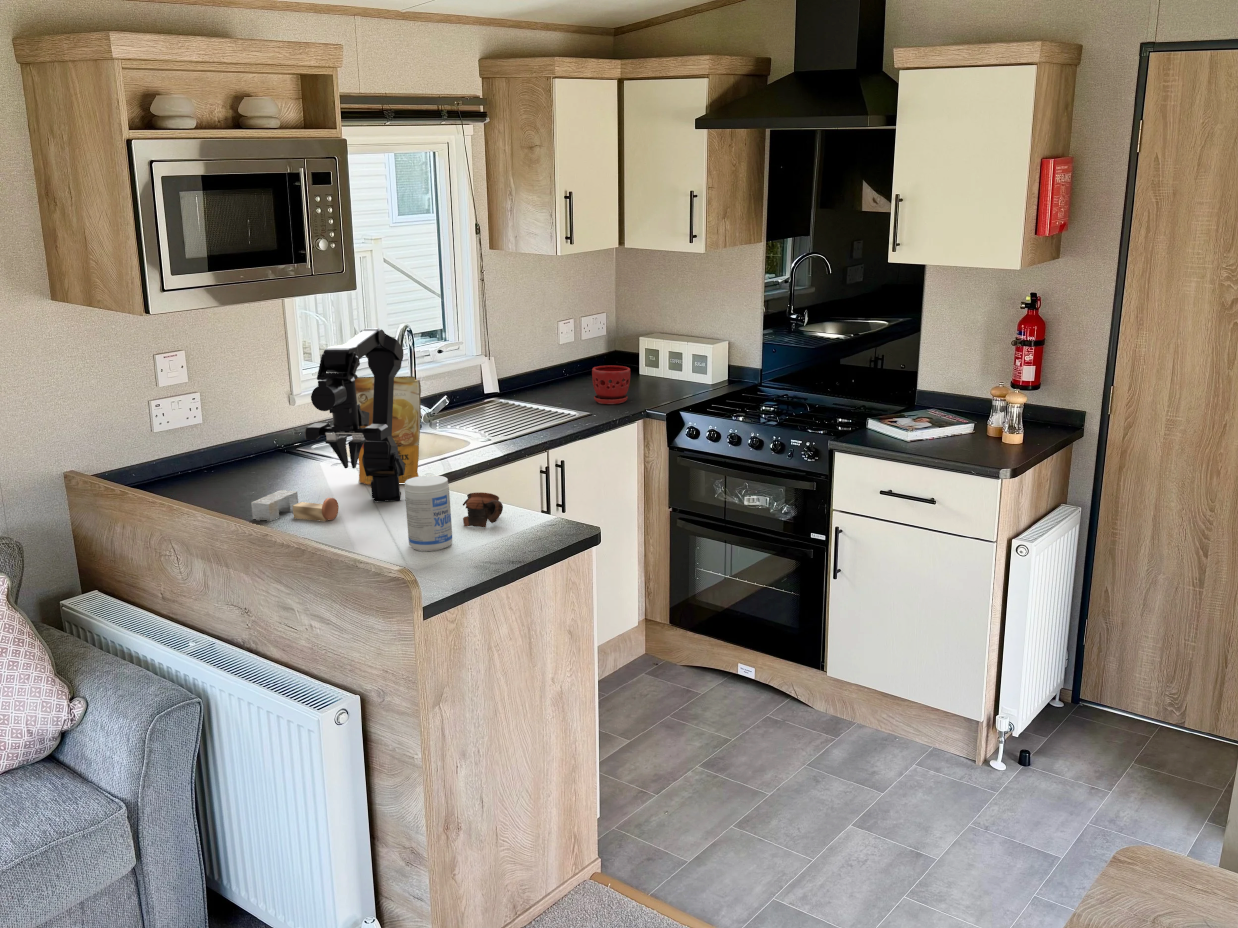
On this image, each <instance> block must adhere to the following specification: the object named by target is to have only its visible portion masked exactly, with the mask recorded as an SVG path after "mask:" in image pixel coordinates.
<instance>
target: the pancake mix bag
mask: <svg viewBox="0 0 1238 928" xmlns="http://www.w3.org/2000/svg"><path fill="white" fill-rule="evenodd" d="M355 386H356V397H357V404H360V409H361V411H366V412H369V425H371V424H372V421H373V395H374V376H359V377H358V378H357V379H355ZM421 394H422V386H421V380H420V379H416V376H410V375H408V376H395V377H394V390H393V416H392V437H393V439H394V441H395V443H396V445H397V446H398V454H399V456H400V457H401V459H402V460H403V462H404V463H405V473H404V475H402V476H399V483H405V481H406V480H408V479H410V478H414V477H419V476H420V475H419V473H418V471H419V459H420V441H421V440H420V438H421V437H420V436H421V435H420V434H421V419H422V411H421V400H422V399H421ZM366 427H368V426H364V425H363V426H360V427H359V428H366ZM364 443H365V442H364ZM364 443H363V445H362V447H361V450H360V453H359V457H358V469H359V470H358V481H357V482H358V483H360V484H364V485H368V486H371V480H373V476H366V473H365V470H364V466H363V462H362V457H363V453H364Z"/></svg>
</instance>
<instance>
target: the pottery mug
mask: <svg viewBox="0 0 1238 928" xmlns="http://www.w3.org/2000/svg"><path fill="white" fill-rule="evenodd" d="M466 497H467V499H465V501H464V502H463V503H462V506H463V507H464V506H465V509H467V515H466V516H464V517H463V518H462V521H463V527H476V528H487V523H488V521H489V522H490V523H491V524H494V523H496V522H497V521H498V520H499V518H500V516H501V515H502V513H503V510H504V506H503V502H501V501H500V497H499V496H498V495H496V494H493V493H490V492H470V493H468V494H467V495H466Z"/></svg>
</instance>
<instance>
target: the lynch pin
mask: <svg viewBox="0 0 1238 928" xmlns="http://www.w3.org/2000/svg"><path fill="white" fill-rule="evenodd" d="M292 513H293V518H294V519H296V518H297V519H299V520H306V519H307V521H317V520H320V521H319V522H327V521H333V520H335V518H336V517H337V516H338V514H339V502H338V500H337V499H336V498H335V497H327V498H325V500H324V501H323V503H316V502H313V503H312V502H305V501H304V502H302V501H300V502H298V504H295V505H293V511H292ZM297 519H296V520H297Z"/></svg>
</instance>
